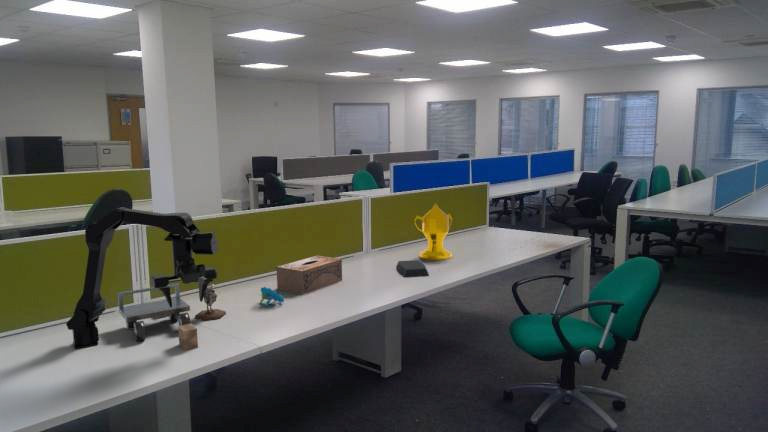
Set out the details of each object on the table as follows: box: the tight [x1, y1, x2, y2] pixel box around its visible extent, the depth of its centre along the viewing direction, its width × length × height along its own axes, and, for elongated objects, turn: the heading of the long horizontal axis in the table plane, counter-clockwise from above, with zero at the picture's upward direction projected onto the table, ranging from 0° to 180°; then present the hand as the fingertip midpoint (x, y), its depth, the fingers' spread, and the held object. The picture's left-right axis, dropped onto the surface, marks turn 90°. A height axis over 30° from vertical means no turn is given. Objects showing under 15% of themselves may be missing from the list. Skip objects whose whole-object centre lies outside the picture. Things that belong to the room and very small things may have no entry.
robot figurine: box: [194, 283, 227, 322], centre depth 204 cm, size 11×9×12 cm
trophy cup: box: [413, 203, 453, 261], centre depth 296 cm, size 18×24×28 cm
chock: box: [177, 323, 199, 351], centre depth 175 cm, size 4×6×6 cm, turn 35°
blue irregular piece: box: [259, 286, 285, 307], centre depth 217 cm, size 11×6×10 cm
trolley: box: [117, 283, 192, 342], centre depth 190 cm, size 20×20×12 cm
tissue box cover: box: [276, 255, 343, 295], centre depth 245 cm, size 26×14×10 cm, turn 146°
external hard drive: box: [395, 259, 430, 278], centre depth 266 cm, size 13×19×4 cm
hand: (186, 304), depth 174 cm, fingers open, 9 cm apart
